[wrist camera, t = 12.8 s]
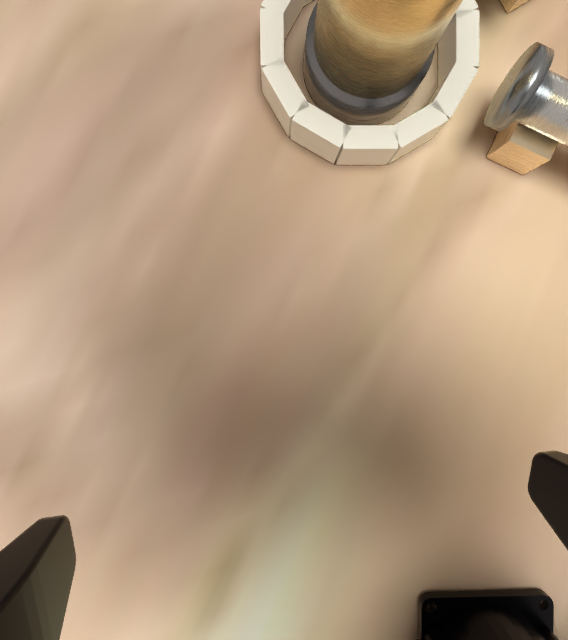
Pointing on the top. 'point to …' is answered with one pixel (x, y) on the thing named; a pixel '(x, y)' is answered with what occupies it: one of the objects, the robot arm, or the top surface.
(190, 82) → the top surface
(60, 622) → the robot arm
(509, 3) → the shaft
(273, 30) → the socket ring
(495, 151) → the shaft
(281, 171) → the top surface
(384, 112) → the tan cylindrical piece
